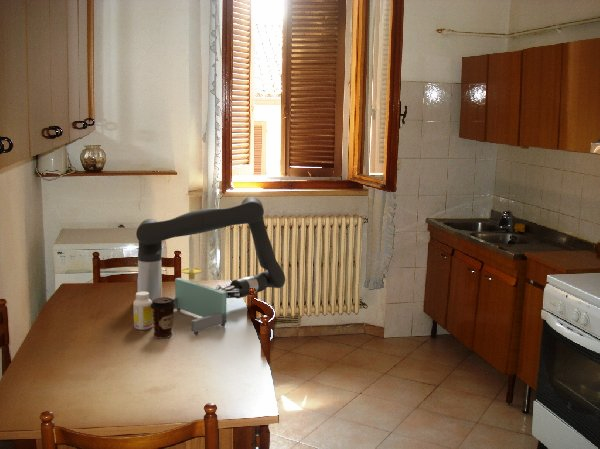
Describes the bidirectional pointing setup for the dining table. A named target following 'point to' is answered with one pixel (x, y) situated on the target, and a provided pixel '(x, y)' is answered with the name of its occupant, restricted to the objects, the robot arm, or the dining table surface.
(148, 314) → the supplement bottle
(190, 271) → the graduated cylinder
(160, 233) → the robot arm
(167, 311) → the coffee cup
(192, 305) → the teal panel stand
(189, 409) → the dining table surface
